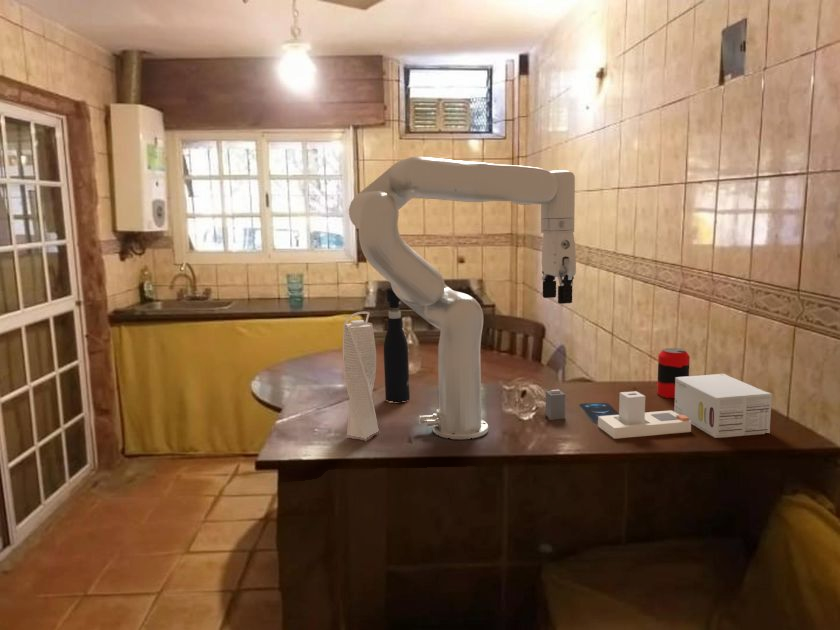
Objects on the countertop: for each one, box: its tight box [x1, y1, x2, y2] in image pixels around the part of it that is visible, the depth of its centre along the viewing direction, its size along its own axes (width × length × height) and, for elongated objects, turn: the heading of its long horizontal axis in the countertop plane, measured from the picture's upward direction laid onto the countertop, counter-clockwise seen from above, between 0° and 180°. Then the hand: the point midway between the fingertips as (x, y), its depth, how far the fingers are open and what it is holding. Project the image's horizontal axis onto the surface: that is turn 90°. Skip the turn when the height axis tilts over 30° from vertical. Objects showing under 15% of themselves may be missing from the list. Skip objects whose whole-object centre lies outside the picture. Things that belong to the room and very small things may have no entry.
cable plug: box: [545, 389, 566, 420], centre depth 153 cm, size 4×4×7 cm
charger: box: [618, 390, 646, 425], centre depth 142 cm, size 4×4×8 cm
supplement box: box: [673, 373, 773, 439], centre depth 145 cm, size 17×13×9 cm
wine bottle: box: [383, 287, 411, 402], centre depth 168 cm, size 6×6×30 cm
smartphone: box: [579, 402, 619, 424], centre depth 155 cm, size 8×1×15 cm
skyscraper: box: [341, 311, 380, 439], centre depth 142 cm, size 8×8×28 cm
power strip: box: [597, 410, 692, 440], centre depth 143 cm, size 18×8×3 cm, turn 99°
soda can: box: [656, 347, 691, 399], centre depth 167 cm, size 8×8×12 cm
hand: (556, 300), depth 149 cm, fingers open, 9 cm apart
